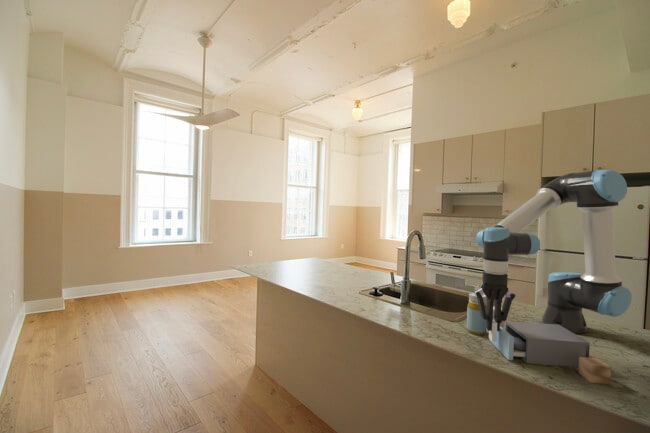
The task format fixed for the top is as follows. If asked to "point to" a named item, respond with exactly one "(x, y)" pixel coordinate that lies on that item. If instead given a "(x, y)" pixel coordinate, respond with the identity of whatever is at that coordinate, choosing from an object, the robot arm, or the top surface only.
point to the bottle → (475, 316)
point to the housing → (549, 343)
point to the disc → (519, 344)
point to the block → (594, 370)
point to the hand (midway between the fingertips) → (492, 339)
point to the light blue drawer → (506, 345)
